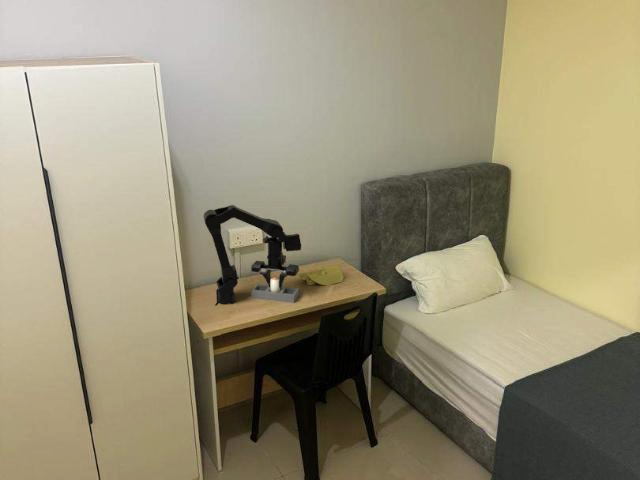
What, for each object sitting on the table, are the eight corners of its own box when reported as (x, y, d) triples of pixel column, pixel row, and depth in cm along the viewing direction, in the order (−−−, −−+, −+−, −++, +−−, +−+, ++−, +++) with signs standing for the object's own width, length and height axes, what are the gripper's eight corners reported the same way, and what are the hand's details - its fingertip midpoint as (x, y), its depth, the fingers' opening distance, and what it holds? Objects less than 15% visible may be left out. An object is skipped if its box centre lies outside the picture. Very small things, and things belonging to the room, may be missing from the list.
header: (251, 300, 241) (251, 291, 240) (257, 292, 248) (257, 283, 247) (293, 305, 237) (293, 296, 236) (298, 297, 245) (298, 288, 243)
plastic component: (326, 267, 269) (341, 264, 262) (330, 283, 269) (345, 280, 262) (293, 275, 256) (308, 272, 249) (297, 292, 256) (312, 289, 248)
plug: (269, 297, 241) (269, 279, 238) (272, 293, 245) (272, 275, 242) (278, 298, 240) (278, 280, 237) (281, 294, 244) (281, 276, 241)
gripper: (302, 247, 241) (302, 282, 247) (259, 243, 245) (260, 277, 251) (295, 257, 231) (295, 293, 236) (250, 252, 235) (251, 287, 240)
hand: (275, 287), depth 241 cm, fingers closed on plug, 4 cm apart
